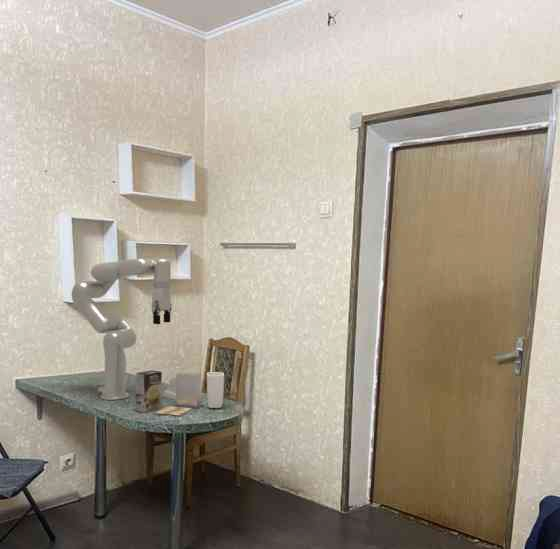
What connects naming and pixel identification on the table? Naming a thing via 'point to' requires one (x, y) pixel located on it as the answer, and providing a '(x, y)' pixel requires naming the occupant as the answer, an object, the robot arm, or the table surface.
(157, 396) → the coffee box
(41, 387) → the table surface
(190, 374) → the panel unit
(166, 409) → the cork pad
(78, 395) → the table surface
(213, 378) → the cup
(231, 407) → the table surface
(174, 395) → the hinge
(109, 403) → the table surface
